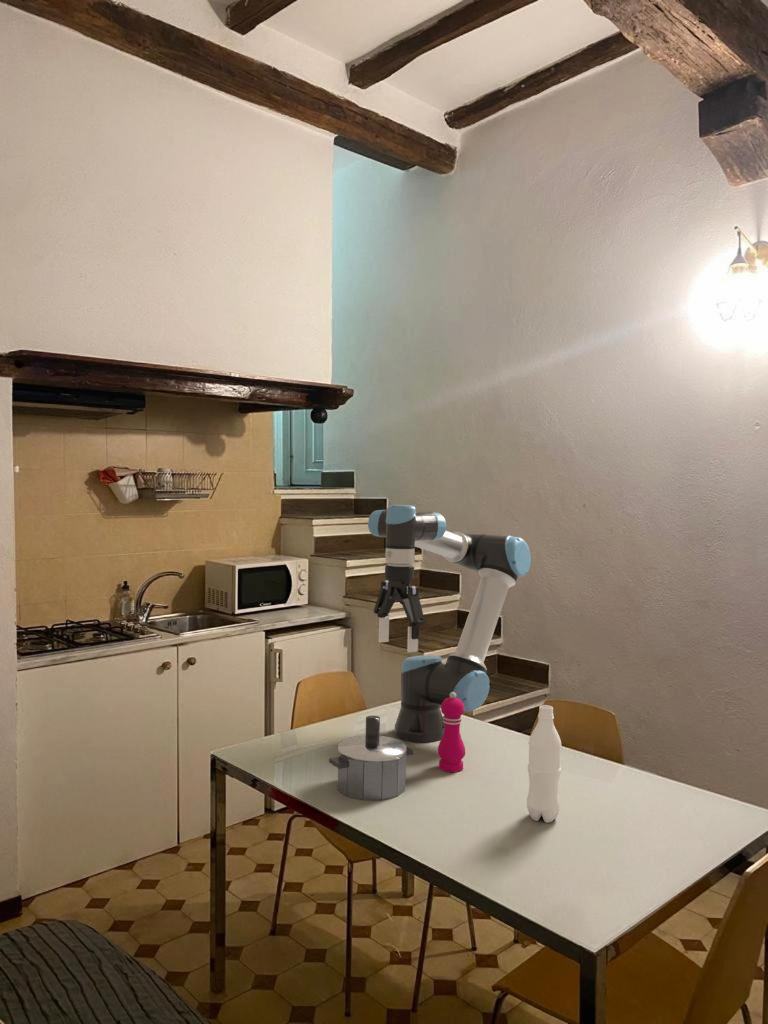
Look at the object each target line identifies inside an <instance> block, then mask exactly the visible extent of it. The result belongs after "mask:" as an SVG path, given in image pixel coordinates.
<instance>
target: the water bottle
mask: <svg viewBox="0 0 768 1024" xmlns="http://www.w3.org/2000/svg"><path fill="white" fill-rule="evenodd" d="M538 711H539V712H538V715H537V718H538V720H537V721H538V722H537V724H536V725H535V727H534V729H533V730H532V732H531V734H530V737H529V740H528V745H529V747H528V764H527V771H528V772H527V773H528V777H529V778H528V780H529V785H528V786H529V787H528V793H527V796H526V808H527V811H528V813H529V816H530V818H531V819H532V820H533V821H535V822H538V821H539V820H540V818H541V817H542V819H543V821H544V823H545V824H546V823H551V822H553V820H556V818H557V817H558V815H559V812H560V803H561V802H560V796H559V780H560V776H561V771H562V768H561V757H562V755H561V753H562V741H561V737H560V735H559V732H558V730H557V729H556V727H555V724H554V719H555V717H554V707H553V706H551V705H547V704H543V705H541V704H540V705H539V709H538Z"/></svg>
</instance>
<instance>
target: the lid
mask: <svg viewBox="0 0 768 1024" xmlns="http://www.w3.org/2000/svg"><path fill="white" fill-rule="evenodd" d="M380 723H381V717H380V716H379V715H367V716H366V717H365V735H357V736H352V737H347V738H345V739H342V740H341V741H340V742H338V745H337V752H338V754H339V753H340V754H341V755H342V756H344V757H346V758H348V759H352V760H356V761H362V762H386V761H392V760H396V759H399V758H401V757H403V756H404V755H405V754H406V747H407V745H406V744H405V742H403V741H402V740H400V739H397V738H394V737H389V736H385V735H380V732H381V730H380V729H381V724H380Z"/></svg>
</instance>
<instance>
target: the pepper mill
mask: <svg viewBox="0 0 768 1024" xmlns="http://www.w3.org/2000/svg"><path fill="white" fill-rule="evenodd" d="M440 710H441V714H442V717H443V722H444V726H445V728H444V734H443V737H442V739H440V740H439V741H440V742H439V744H438V746H437V755H438V757H439V758H440V759H439V761H438V767H439V769H440V770H441V771H444V772H448V773H458V772H461V771H462V770H464V761H463V759H464V757H465V756H466V748H465V744H464V742H463V739H462V737H461V736H462V735H461V730H460V728H461V727H460V726H461V724H462V722H463V721H462V719H463V717H462V715H463V714H464V712H465V711H464V704H463V702H462V701H461V700H460V699H458V698H456V693H455V692H451V693H450V698H447V699H445V700H444V701H443V702H442V705H440Z"/></svg>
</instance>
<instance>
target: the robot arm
mask: <svg viewBox="0 0 768 1024" xmlns="http://www.w3.org/2000/svg"><path fill="white" fill-rule="evenodd" d="M367 521H368V522H367V528H368V531H369V533H370V534H371V535H372V536H374V537H378V538H385V553H384V554H385V560H384V561H385V563H386V565H385V566H384V579H385V580H381V581H380V589H379V592H378V596H377V599H376V601H375V605H374V609H373V614H375V615H377V618H378V643H389V642H390V641H389V639H390V638H389V637H390V636H389V634H390V614H389V613H390V611H391V609H393V606H394V604H395V602H398V603H399V604H401V606H402V609H403V610H404V613H405V616H406V618H407V621H408V625H407V643H406V644H407V649H406V652H407V653H415V652H419V638H420V626H422V625H425V624H426V620H425V617H424V611H423V608H422V604H421V600H420V596H419V587H418V585H412V586H411V582H412V581H413V580H414V578H415V566H414V564H415V561H416V560H415V555H416V554H415V553H416V550H415V549H416V548H419V549H421V550H424V551H428V552H430V553H433V554H437V555H440V556H443V558H444V559H445V560H446V561H447V562H450V563H452V564H455V565H458V566H460V567H464V568H466V569H469V570H472V571H475V572H478V575H479V577H480V581H479V584H478V587H477V590H476V592H475V595H474V599H473V600H472V604H471V607H470V609H469V613H468V615H467V618H466V621H465V624H464V627H463V629H462V632H461V634H460V638H459V641H458V644H457V646H456V649H455V651H454V652H453V653H450V654H448V656H447V659H446V662H445V663H442V662H443V658H442V656H441V655H436V654H426V655H425V654H424V655H413V656H409V657H407V658H404V660H403V661H402V664H401V672H400V675H401V676H400V677H401V678H400V679H401V680H400V685H401V686H400V689H401V690H400V694H401V695H400V710H399V712H398V715H397V718H396V722H395V724H394V730H393V731H394V736H395V737H397V738H398V739H402V740H405V741H408V742H409V741H411V742H416V743H417V742H418V743H419V742H420V743H424V742H425V743H426V742H427V743H429V742H435V741H441V739H442V737H443V734H444V728H445V726H444V722H443V713H442V711H441V705H442V702H443V701H444V700H445V699H447V698H450V693H451V692H455V693H456V698H458V699H460V700H461V701H462V702H463V704H464V712H473V711H476V710H477V709H479V708H480V707H481V706H482V705H483V704H484V702H485V701H486V699H487V698H488V694H489V692H490V677H489V676H488V675H487V670H488V669H487V667H486V665H485V663H484V662H485V659H486V656H487V653H488V651H489V648H490V644H491V641H492V639H493V636H494V632H495V629H496V628H497V627H496V626H497V624H498V621H499V617H500V615H501V613H502V609H503V606H504V603H505V600H506V597H507V594H508V592H509V589H510V588H511V587H514V586H515V585H516V583H517V582H518V581H517V580H518V578H521V577H525V576H526V575H527V574H528V573H529V571H530V568H531V563H532V562H531V553H530V548H529V545H528V543H527V542H526V541H525V539H523V538H522V537H520V536H519V537H517V536H512V535H498V534H497V535H495V534H494V535H493V534H482V533H479V534H478V533H465V532H464V533H463V532H461V531H452V532H451V531H448V530H447V521H446V519H445V517H444V516H443V515H442V514H441V513H440V512H435V511H417V510H416V507H415V506H414V505H413V504H412V505H411V504H391V505H388V507H387V508H386V509H378V510H377V509H376V510H374V511H372V512H371V514H370V515H369V517H368V520H367Z"/></svg>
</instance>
